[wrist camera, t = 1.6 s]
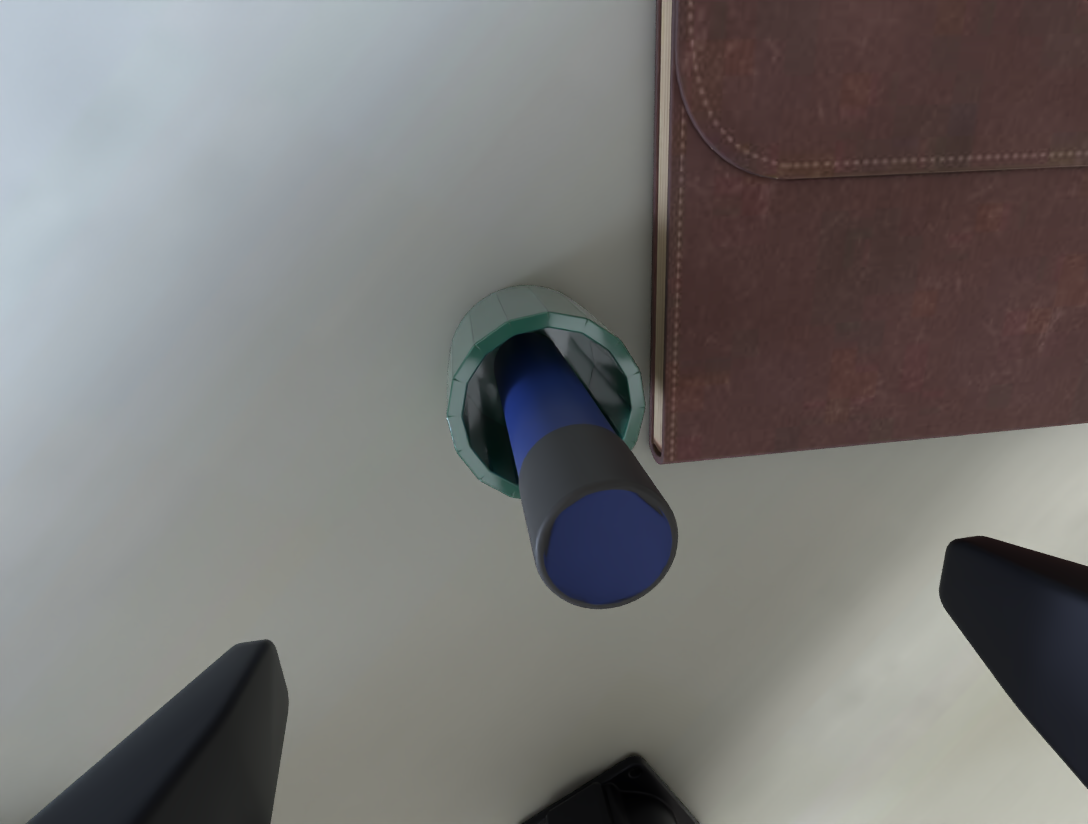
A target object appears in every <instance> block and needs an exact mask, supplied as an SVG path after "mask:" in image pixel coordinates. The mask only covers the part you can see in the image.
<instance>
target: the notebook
mask: <svg viewBox="0 0 1088 824" xmlns="http://www.w3.org/2000/svg"><path fill="white" fill-rule="evenodd" d="M1081 423H1088V0H656V51H655V113H654V175H653V237H652V299H651V361H650V423H649V445H650V449H651V452H652V455H653V457H654V459H655V461H656V462H657V463H658V464H670V463H680V462H691V461H701V460H711V459H721V458H732V457H742V456H752V455H763V454H773V453H783V452H793V451H804V450H814V449H824V448H835V447H845V446H855V445H865V444H876V443H886V442H896V441H906V440H917V439H927V438H937V437H948V436H958V435H968V434H978V433H989V432H999V431H1009V430H1020V429H1030V428H1040V427H1050V426H1061V425H1071V424H1081Z"/></svg>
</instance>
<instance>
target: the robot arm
mask: <svg viewBox="0 0 1088 824" xmlns="http://www.w3.org/2000/svg"><path fill="white" fill-rule="evenodd" d="M939 596H940V599H941V602H942V604H943V607H944V608H945V610H946V611H947V613H948V614H949V615H950V617H951V618H952V619H953V621H954V622H955V624H956V625H957V626H958V628H959V629H960V630H961V632H962V633H963V634H964V636H965V637H966V639H967V640H968V641H969V643H970V644H971V645H972V647H973V648H974V649H975V651H976V652H977V654H978V655H979V656H980V658H981V659H982V660H983V662H984V663H985V665H986V666H987V667H988V669H989V670H990V671H991V673H992V674H993V675H994V677H995V678H996V680H997V681H998V682H999V684H1000V685H1001V686H1002V688H1003V689H1004V690H1005V692H1006V693H1007V694H1008V696H1009V697H1010V698H1011V700H1012V701H1013V702H1014V704H1015V705H1016V706H1017V707H1018V709H1019V710H1020V711H1021V712H1022V713H1023V715H1024V716H1025V717H1026V718H1027V719H1028V721H1029V722H1030V723H1031V724H1032V725H1033V727H1034V728H1035V729H1036V730H1037V731H1038V732H1039V734H1040V735H1041V736H1042V737H1043V738H1044V739H1045V740H1046V742H1047V743H1048V744H1049V745H1050V746H1051V747H1052V749H1053V750H1054V751H1055V752H1056V753H1057V754H1058V755H1059V757H1060V758H1061V759H1062V760H1063V761H1064V762H1065V763H1066V765H1067V766H1068V767H1069V768H1070V769H1071V770H1072V772H1073V773H1074V774H1075V775H1076V776H1077V777H1078V778H1079V780H1080V781H1081V782H1082V783H1083V784H1084V785H1085V787H1086V788H1087V789H1088V566H1085V565H1081V564H1078V563H1075V562H1071V561H1068V560H1064V559H1061V558H1057V557H1054V556H1051V555H1047V554H1044V553H1040V552H1037V551H1034V550H1030V549H1027V548H1023V547H1020V546H1016V545H1013V544H1010V543H1006V542H1003V541H999V540H996V539H993V538H989V537H985V536H974V537H967V538H960V539H955V540H953V541H951V542H950V543H949V545H948V546H947V549H946V553H945V558H944V564H943V569H942V575H941V580H940V586H939ZM288 706H289V699H288V691H287V687H286V683H285V679H284V676H283V672H282V668H281V665H280V661H279V657H278V653H277V650H276V647H275V645H274V644H273V642H271V641H270V640H266V639H265V640H258V641H251V642H244V643H239V644H236V645H234V646H233V647H232V648H230V649H229V650H228V651H227V652H226V653H224V654H223V655H222V656H221V657H220V658H219V659H217V660H216V661H215V662H214V663H213V664H212V665H210V666H209V667H208V668H207V669H206V670H205V671H203V672H202V673H201V674H200V675H199V676H198V677H196V678H195V679H194V680H193V681H192V682H191V683H189V684H188V685H187V686H186V687H185V688H184V689H182V690H181V691H180V692H179V693H178V694H177V695H175V696H174V697H173V698H172V699H171V700H170V701H168V702H167V703H166V704H165V705H164V706H163V707H161V708H160V709H159V710H158V711H157V712H156V713H154V714H153V715H152V716H151V717H150V718H149V719H147V720H146V721H145V722H144V723H143V724H142V725H140V726H139V727H138V728H137V729H136V730H135V731H133V732H132V733H131V734H130V735H129V736H128V737H126V738H125V739H124V740H123V741H122V742H121V743H119V744H118V745H117V746H116V747H115V748H114V749H112V750H111V751H110V752H109V753H108V754H107V755H105V756H104V757H103V758H102V759H101V760H100V761H98V762H97V763H96V764H95V765H94V766H93V767H91V768H90V769H89V770H88V771H87V772H86V773H84V774H83V775H82V776H81V777H80V778H79V779H77V780H76V781H75V782H74V783H73V784H72V785H70V786H69V787H68V788H67V789H66V790H65V791H63V792H62V793H61V794H60V795H59V796H58V797H56V798H55V799H54V800H53V801H52V802H51V803H49V804H48V805H47V806H46V807H45V808H44V809H42V810H41V811H40V812H39V813H38V814H37V815H35V816H34V817H33V818H32V819H31V820H30V821H28V822H27V823H26V824H270V823H271V817H272V811H273V805H274V798H275V792H276V786H277V779H278V773H279V767H280V760H281V754H282V748H283V741H284V735H285V729H286V722H287V716H288ZM522 824H700V823H699V822H698V821H697V820H696V819H695V818H694V817H693V815H692V814H691V813H690V812H689V811H688V810H687V809H686V807H685V806H684V805H683V804H682V803H681V802H680V801H679V799H678V798H677V797H676V796H675V795H674V794H673V793H672V791H671V790H670V789H669V788H668V787H667V786H666V785H665V783H664V782H663V781H662V780H661V779H660V778H659V776H658V775H657V774H656V773H655V772H654V771H653V770H652V768H651V767H650V766H649V765H648V764H647V763H646V762H645V760H644V759H643V758H641V757H640V756H631V757H629V758H627V759H625V760H623V761H622V762H620V763H619V764H617V765H615V766H614V767H612V768H611V769H609V770H607V771H606V772H604V773H603V774H601V775H599V776H598V777H596V778H595V779H593V780H591V781H590V782H588V783H587V784H585V785H583V786H582V787H580V788H579V789H577V790H575V791H574V792H572V793H571V794H569V795H567V796H566V797H564V798H563V799H561V800H559V801H558V802H556V803H555V804H553V805H551V806H550V807H548V808H546V809H545V810H543V811H542V812H540V813H538V814H537V815H535V816H534V817H532V818H530V819H529V820H527V821H526V822H524V823H522Z"/></svg>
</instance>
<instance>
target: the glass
mask: <svg viewBox="0 0 1088 824" xmlns="http://www.w3.org/2000/svg"><path fill="white" fill-rule="evenodd" d="M523 333H536V334H540V335H543V336H545V337H547V338H548V339H550V340H551V341H552V342H553V343H554V344H555V345H556V346H557V348H558V349H559V351H560V352H561V354H562V355H563V357H564V358H565V360H566V361H567V362H568V364H569V365H570V367H571V368H572V370H573V371H574V373H575V374H576V376H577V377H578V379H579V380H580V382H581V383H582V384H583V386H584V387H585V389H586V390H587V392H588V393H589V395H590V396H591V398H592V399H593V401H594V402H595V404H596V405H597V406H598V408H599V409H600V411H601V412H602V414H603V415H604V417H605V418H606V420H607V421H608V423H609V424H610V426H611V427H612V428H613V430H614V431H615V433H616V434H617V435H618V436H619V437H620V438H621V439H622V440H623V441H624V442H625V443H626V445H627V446H628V447H629V449H630V450H632V448H633V447H634V446H635V444H636V442H637V439H638V435H639V431H640V428H641V424H642V420H643V416H644V412H645V398H644V391H643V385H642V378H641V372H640V370H639V368H638V366H637V365H636V363H635V361H634V360H633V358H632V357H631V355H630V353H629V352H628V350H627V349H626V347H625V346H624V344H623V342H622V341H621V340H620V339H619V338H618V337H617V336H616V335H615V334H613V333H612V332H611V331H610V330H609V329H608V328H607V327H605V326H604V325H603V324H602V323H601V322H600V321H598V320H597V319H596V318H595V317H594V316H593V315H592V314H590V313H589V312H588V311H587V310H586V309H585V308H583V307H582V306H580V305H579V304H577V303H576V302H574V301H573V300H572V299H571V298H569V297H567V296H566V295H564V294H562V293H561V292H558V291H555V290H553V289H550V288H546V287H542V286H534V285H520V286H513V287H509V288H505V289H502V290H499V291H497V292H494V293H492V294H490V295H489V296H487V297H485V298H484V299H482V300H481V301H479V302H478V303H477V304H476V305H475V306H473V307H472V308H471V310H470V311H469V312H468V313H467V314H466V315H465V317H464V318H463V319H462V321H461V322H460V324H459V326H458V328H457V330H456V332H455V334H454V337H453V340H452V344H451V348H450V356H449V363H448V379H447V421H448V425H449V428H450V432H451V436H452V439H453V443H454V447H455V450H456V451H457V454H458V455H459V456H460V458H461V459H462V460H463V461H464V463H465V464H466V465H467V466H468V467H469V469H470V470H471V471H472V472H473V474H474V475H475V476H476V477H477V479H479V480H480V481H481V482H483V483H485V484H487V485H489V486H490V487H492V488H494V489H496V490H498V491H500V492H502V493H504V494H505V495H507V496H509V497H512V498H519V499H521V497H520V492H519V477H518V472H517V468H516V464H515V459H514V455H513V451H512V447H511V442H510V438H509V434H508V429H507V425H506V421H505V416H504V412H503V408H502V404H501V399H500V395H499V391H498V386H497V382H496V378H495V373H494V361H495V357H496V354H497V352H498V350H499V349H500V347H501V346H502V345H503V344H504V343H505V342H506V341H507V340H509V339H510V338H511V337H513V336H515V335H518V334H523Z"/></svg>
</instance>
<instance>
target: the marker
mask: <svg viewBox="0 0 1088 824" xmlns="http://www.w3.org/2000/svg"><path fill="white" fill-rule="evenodd" d="M494 373H495V378H496V382H497V386H498V391H499V395H500V399H501V404H502V408H503V412H504V416H505V421H506V425H507V429H508V434H509V438H510V442H511V447H512V451H513V455H514V459H515V464H516V468H517V472H518V477H519V492H520V497H521V501H522V506H523V510H524V515H525V519H526V524H527V528H528V533H529V537H530V542H531V546H532V551H533V555H534V560H535V564H536V567H537V570H538V573H539V575H540V577H541V579H542V580H543V581H544V583H545V584H546V586H547V587H548V588H549V589H550V590H551V591H552V592H553V593H555V594H556V595H557V596H559V597H560V598H561V599H563V600H565V601H567V602H569V603H571V604H573V605H576V606H580V607H584V608H590V609H607V608H614V607H619V606H622V605H625V604H628V603H631V602H633V601H635V600H637V599H639V598H641V597H642V596H644V595H645V594H647V593H648V592H649V591H651V590H652V589H653V588H654V587H655V586H656V585H658V583H659V582H660V581H661V580H662V579H663V578H664V576H665V575H666V573H667V572H668V570H669V568H670V567H671V565H672V563H673V560H674V557H675V554H676V550H677V543H678V528H677V523H676V519H675V517H674V514H673V512H672V510H671V508H670V507H669V505H668V503H667V502H666V501H665V499H664V498H663V496H662V495H661V493H660V492H659V490H658V489H657V488H656V486H655V485H654V483H653V482H652V480H651V479H650V477H649V476H648V475H647V473H646V472H645V470H644V469H643V467H642V466H641V465H640V463H639V462H638V460H637V459H636V457H635V456H634V454H633V453H632V452H631V450H630V449H629V447H628V446H627V445H626V443H625V442H624V441H623V440H622V439H621V438H620V437H619V436H618V435H617V434H616V433H615V431H614V430H613V428H612V427H611V426H610V424H609V423H608V421H607V420H606V418H605V417H604V415H603V414H602V412H601V411H600V409H599V408H598V406H597V405H596V404H595V402H594V401H593V399H592V398H591V396H590V395H589V393H588V392H587V390H586V389H585V387H584V386H583V384H582V383H581V382H580V380H579V379H578V377H577V376H576V374H575V373H574V371H573V370H572V368H571V367H570V365H569V364H568V362H567V361H566V360H565V358H564V357H563V355H562V354H561V352H560V351H559V349H558V348H557V346H556V345H555V344H554V343H553V342H552V341H551V340H550V339H548V338H547V337H545V336H543V335H540V334H536V333H523V334H518V335H515V336H513V337H511V338H510V339H509V340H507V341H506V342H505V343H504V344H503V345H502V346H501V347H500V349H499V350H498V352H497V354H496V357H495V361H494Z"/></svg>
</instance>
